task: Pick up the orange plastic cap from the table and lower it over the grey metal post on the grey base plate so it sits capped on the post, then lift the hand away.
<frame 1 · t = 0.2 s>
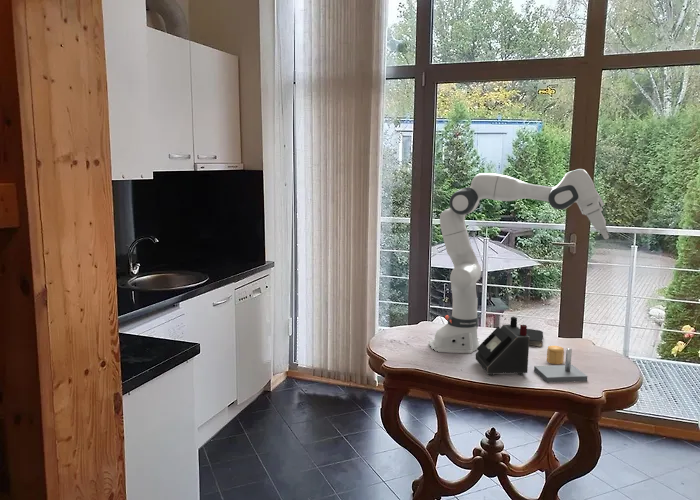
hand: (607, 237, 221), 54 cm above the table, fingers open, 8 cm apart
voltmeter: (500, 369, 225), on the table
orange cap: (554, 361, 233), on the table
grey base plate: (559, 375, 217), on the table
board eraser: (533, 341, 259), on the table
metal post: (567, 375, 218), resting on grey base plate
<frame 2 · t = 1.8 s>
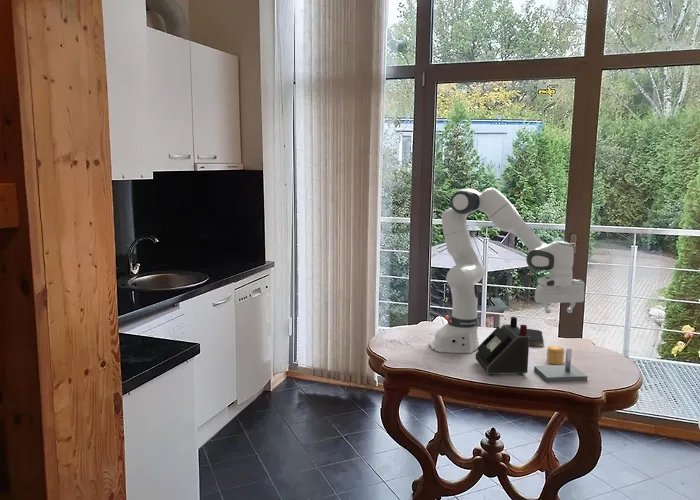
hand: (558, 312, 229), 21 cm above the table, fingers open, 8 cm apart
nothing on the table moved.
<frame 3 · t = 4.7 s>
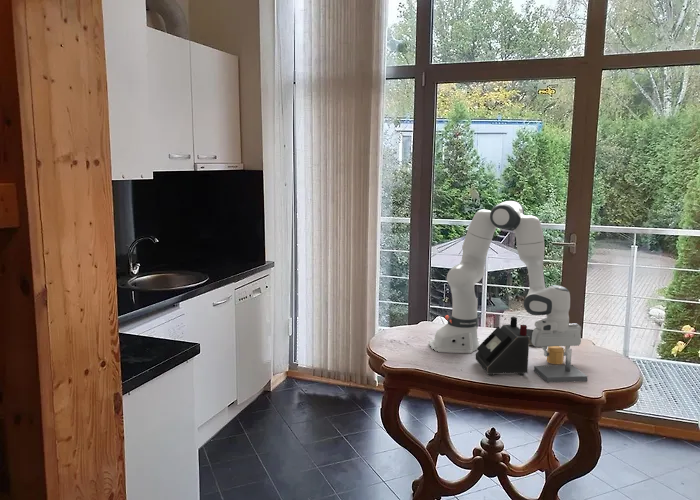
hand: (555, 355, 232), 3 cm above the table, fingers closed on orange cap, 6 cm apart
orange cap: (554, 361, 233), on the table, touching gripper
when the fingers open (10 cm above the table, at t = 10.5 s): orange cap stays where it is, resting on metal post.
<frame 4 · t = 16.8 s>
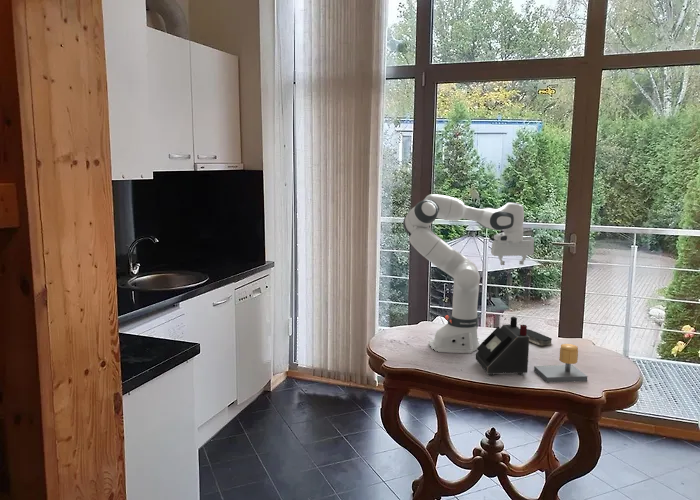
hand: (511, 264, 266), 34 cm above the table, fingers open, 8 cm apart
orange cap: (568, 361, 217), point 6 cm above the table, touching metal post
at the end: orange cap 0.0 cm off-centre on the metal post, point 6.0 cm above the metal post's base; orange cap tilted 0°; the gripper is holding nothing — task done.
